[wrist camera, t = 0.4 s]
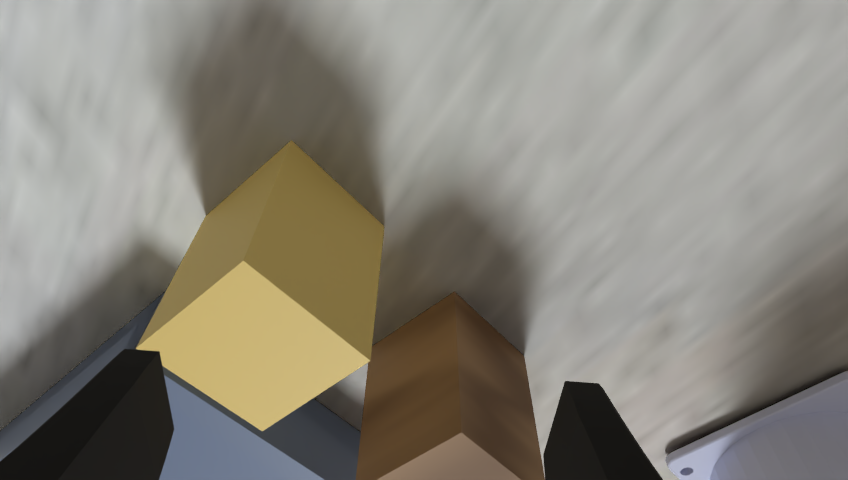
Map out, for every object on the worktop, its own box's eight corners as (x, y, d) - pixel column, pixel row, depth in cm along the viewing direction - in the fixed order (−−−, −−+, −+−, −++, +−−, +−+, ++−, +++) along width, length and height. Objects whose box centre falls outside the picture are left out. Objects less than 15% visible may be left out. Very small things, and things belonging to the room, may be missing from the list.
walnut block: (523, 355, 24) (548, 501, 19) (441, 404, 26) (443, 551, 21) (454, 291, 22) (461, 432, 17) (370, 347, 24) (354, 492, 19)
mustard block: (384, 226, 21) (370, 360, 16) (299, 290, 22) (262, 431, 17) (291, 139, 19) (243, 260, 14) (205, 215, 21) (135, 348, 16)
